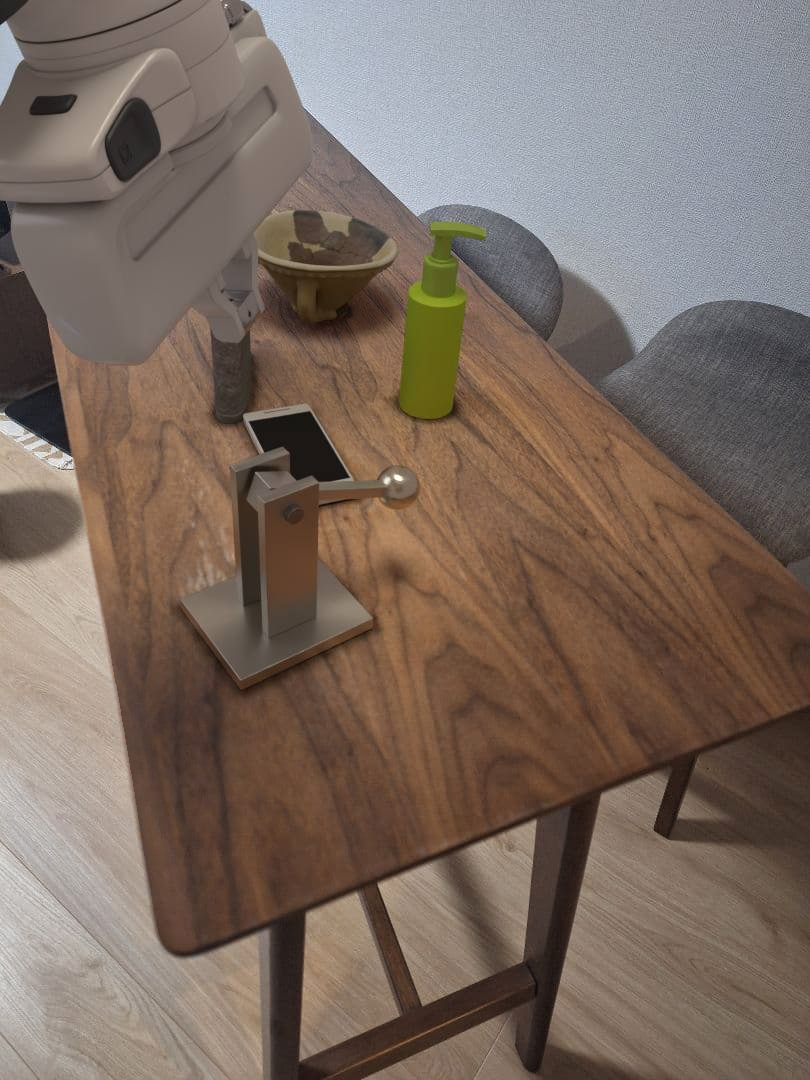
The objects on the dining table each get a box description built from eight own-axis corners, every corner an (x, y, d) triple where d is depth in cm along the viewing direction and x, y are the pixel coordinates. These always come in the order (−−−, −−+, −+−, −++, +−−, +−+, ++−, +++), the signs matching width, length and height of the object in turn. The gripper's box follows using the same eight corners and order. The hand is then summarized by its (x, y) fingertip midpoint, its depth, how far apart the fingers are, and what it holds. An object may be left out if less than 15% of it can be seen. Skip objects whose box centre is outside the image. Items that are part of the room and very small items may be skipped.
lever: (393, 493, 77) (408, 456, 75) (419, 517, 74) (435, 480, 73) (238, 501, 66) (252, 458, 65) (263, 529, 64) (278, 486, 63)
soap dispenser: (462, 421, 97) (488, 241, 84) (398, 417, 97) (413, 235, 84) (461, 392, 102) (485, 216, 89) (399, 387, 101) (414, 210, 88)
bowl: (375, 355, 106) (380, 278, 100) (228, 329, 108) (223, 252, 102) (406, 289, 119) (412, 218, 113) (273, 268, 121) (272, 196, 115)
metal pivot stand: (307, 556, 80) (309, 414, 70) (372, 628, 74) (384, 484, 64) (181, 609, 74) (163, 462, 64) (241, 690, 68) (231, 543, 58)
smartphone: (287, 511, 84) (287, 503, 83) (241, 420, 94) (241, 412, 94) (360, 497, 86) (360, 489, 86) (307, 409, 97) (308, 402, 96)
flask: (255, 352, 105) (249, 196, 93) (251, 424, 94) (245, 258, 82) (222, 352, 104) (213, 195, 92) (215, 423, 94) (203, 256, 82)
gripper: (195, -13, 48) (275, 226, 58) (-57, 185, 36) (98, 442, 46) (299, -25, 46) (363, 227, 56) (65, 184, 34) (200, 456, 44)
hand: (241, 327), depth 51 cm, fingers closed
